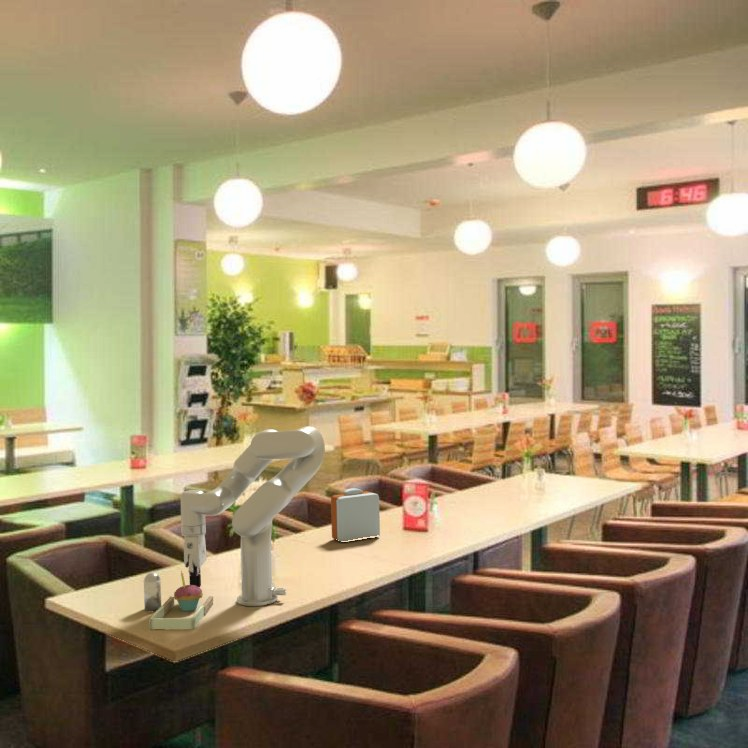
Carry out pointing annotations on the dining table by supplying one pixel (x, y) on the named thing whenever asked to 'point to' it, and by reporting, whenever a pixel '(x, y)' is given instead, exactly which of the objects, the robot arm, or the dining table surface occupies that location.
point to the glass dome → (152, 592)
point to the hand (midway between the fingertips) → (195, 586)
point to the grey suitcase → (355, 515)
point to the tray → (175, 620)
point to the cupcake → (188, 596)
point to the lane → (170, 604)
